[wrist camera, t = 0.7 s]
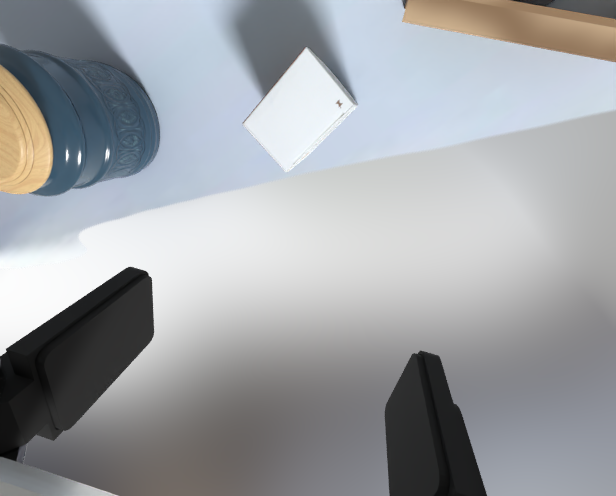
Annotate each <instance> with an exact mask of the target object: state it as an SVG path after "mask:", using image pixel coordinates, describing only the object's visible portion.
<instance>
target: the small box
mask: <svg viewBox="0 0 616 496" xmlns="http://www.w3.org/2000/svg"><path fill="white" fill-rule="evenodd" d="M357 107H358V104H357V103H356V101H355V100H354V99H353V98H352V96H351V95H350V94H349V93H348V91H347V90H346V89H345V87H344V86H343V85H342V84H341V83H340V81H339V80H338V79H337V78H336V76H335V75H334V74H333V73H332V72H331V71H330V69H329V68H328V67H327V66H326V65H325V64H324V63H323V62H322V61H321V60H320V59H319V58H318V57H317V56H316V55H315V54H314V53H313V52H312V51H311V50H310V49H309V48H308V47H305V48H304V49H303V51H302V52H301V53H300V54H299V55H298V57H297V58H296V59H295V60H294V61H293V63H292V64H291V65H290V66H289V68H288V69H287V70H286V71H285V72H284V74H283V75H282V76H281V77H280V79H279V80H278V81H277V82H276V83H275V85H274V86H273V87H272V88H271V89H270V91H269V92H268V93H267V94H266V96H265V97H264V98H263V99H262V100H261V102H260V103H259V104H258V105H257V106H256V108H255V109H254V110H253V111H252V112H251V114H250V115H249V116H248V117H247V119H246V120H245V121H244V122H243V123H242V124H243V126H244V127H245V128H246V129H247V130H248V131H249V132H250V133H251V135H252V136H253V137H254V138H255V139H256V140H257V141H258V142H259V143H260V145H261V146H262V147H263V148H264V149H265V150H266V151H267V152H268V153H269V154H270V156H271V157H272V158H273V159H274V160H275V161H276V162H277V163H278V164H279V165H280V167H281V168H282V169H283V170H284V171H285V172H288V171H290V170H291V169H292V168H293V167H295V166H296V165H297V164H298V163H300V162H301V161H302V160H303V159H305V158H306V157H307V156H308V155H309V154H310V153H311V152H312V151H313V150H314V149H315V148H316V147H317V146H318V145H319V144H320V143H321V142H322V141H323V140H324V139H325V138H326V137H327V136H328V135H329V134H330V133H331V132H332V131H333V130H334V129H335V128H336V127H337V126H338V125H339V124H341V123H342V122H343V121H344V120H345V119H346V118H347V117H348V116H349V115H350V114H351V113H352V112H353V111H354V110H355V109H356V108H357Z"/></svg>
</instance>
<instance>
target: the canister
mask: <svg viewBox="0 0 616 496" xmlns="http://www.w3.org/2000/svg"><path fill="white" fill-rule="evenodd" d="M159 141H160V129H159V123H158V118H157V115H156V112H155V110H154V107H153V105H152V103H151V101H150V99H149V98H148V96H147V95H146V93H145V92H144V90H143V89H142V88H141V87H140V86H139V85H138V84H137V83H136V82H135V81H134V80H133V79H132V78H131V77H129V76H128V75H127V74H125V73H123V72H122V71H120V70H117V69H115V68H113V67H111V66H109V65H107V64H104V63H100V62H95V61H89V60H81V61H79V60H74V59H68V58H63V57H57V56H53V55H50V54H48V53H45V52H41V51H35V50H24V51H19V50H17V49H15V48H13V47H10V46H7V45H4V44H0V191H3V192H7V193H12V194H26V193H30V194H33V195H38V196H57V195H60V194H63V193H65V192H67V191H69V190H70V189H82V188H87V187H90V186H92V185H94V184H96V183H99V182H102V181H106V180H110V179H114V178H123V177H127V176H131V175H134V174H136V173H138V172H140V171H141V170H142V169H144V168H146V167H147V166H148V165H149V164H150V163H151V162H152V161H153V159H154V158H155V156H156V153H157V151H158V147H159Z"/></svg>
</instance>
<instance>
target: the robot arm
mask: <svg viewBox="0 0 616 496" xmlns="http://www.w3.org/2000/svg"><path fill="white" fill-rule="evenodd" d="M153 335H154V320H153V296H152V278H151V277H149V275H148V273H147V272H146V271H144V270H140V269H137V268H133V267H128V268H126V269H124V270H123V271H121V272H120V273H118V274H117V275H115V276H114V277H112V278H111V279H109V280H108V281H106V282H105V283H103V284H102V285H101V286H99V287H98V288H96V289H95V290H93V291H92V292H90V293H89V294H87V295H86V296H84V297H83V298H81V299H80V300H78V301H77V302H75V303H74V304H72V305H71V306H69V307H68V308H66V309H65V310H63V311H62V312H60V313H59V314H57V315H56V316H54V317H53V318H51V319H50V320H48V321H47V322H46V323H44V324H42V325H41V326H39V327H38V328H37V329H35V330H33V331H32V332H30V333H29V334H28V335H26V336H25V337H23V338H22V339H20V340H19V341H17V342H16V343H14V344H13V345H11V346H10V347H8V348H7V349H6V351H7V352H6V353H5V354H3V355H2V356H0V496H118V495H114V494H112V493H109V492H106V491H103V490H100V489H97V488H94V487H91V486H88V485H85V484H82V483H79V482H76V481H73V480H70V479H67V478H64V477H61V476H58V475H56V474H52V473H50V472H47V471H44V470H41V469H38V468H35V467H31V466H28V465H25V464H23V463H24V458H25V453H26V448H27V443H28V442H29V441H30V440H31V439H32V438H33V437H34V436H35V435H36V434H37V435H39V436H42V437H45V438H48V439H50V440H53V441H54V440H55V439H56V438H57V437H58V436H59V435H60V434H61V433H62V431H63V430H64V431H66V430H68V429H70V428H71V427H72V426H73V425H74V424H75V423H76V422H77V421H78V420H79V419H80V418H81V417H82V415H84V413H85V412H86V411H87V410H88V409H89V408H90V407H91V406H92V405H93V404H94V403H95V402H96V401H97V399H98V398H99V397H100V396H101V395H102V394H103V393H104V392H105V391H106V390H107V388H108V387H109V386H110V385H111V384H112V383H113V382H114V381H115V380H116V379H117V378H118V377H119V375H120V374H121V373H122V372H123V371H124V370H125V369H126V368H127V367H128V366H129V365H130V364H131V362H132V361H133V360H134V359H135V358H136V357H137V356H138V355H139V354H140V353H141V352H142V350H143V349H144V348H145V347H146V346H147V345H148V344H149V343H150V341H151V340H152V338H153ZM385 426H386V443H387V458H388V476H389V493H390V496H487V494H486V491H485V488H484V485H483V481H482V478H481V475H480V472H479V468H478V465H477V462H476V459H475V455H474V453H473V449H472V446H471V443H470V439H469V436H468V433H467V430H466V427H465V423H464V420H463V417H462V414H461V411H460V409H459V407H458V406H457V405H456V404H453V400H452V397H451V394H450V390H449V387H448V384H447V380H446V376H445V373H444V370H443V366H442V363H441V360H440V357H439V356H438V355H434V354H431V353H427V352H424V351H420V352H419V353H418V354H415V353H414V354H412V356H411V358H410V360H409V361H408V364H407V365H406V367H405V369H404V371H403V373H402V375H401V377H400V379H399V381H398V383H397V385H396V387H395V388H394V390H393V392H392V394H391V396H390V398H389V400H388V402H387V404H386V408H385Z"/></svg>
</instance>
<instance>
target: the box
mask: <svg viewBox="0 0 616 496" xmlns="http://www.w3.org/2000/svg"><path fill="white" fill-rule="evenodd" d="M518 1H523V2H529V3H534V4H540V5H548V4H549V3H551V2H553V1H554V0H518Z"/></svg>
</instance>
